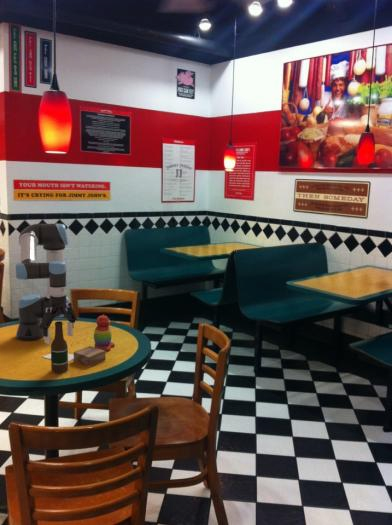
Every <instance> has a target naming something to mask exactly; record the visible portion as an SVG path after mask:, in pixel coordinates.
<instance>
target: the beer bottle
mask: <svg viewBox="0 0 392 525" xmlns="http://www.w3.org/2000/svg"><path fill="white" fill-rule="evenodd" d="M63 323H64V322H63V321H59V320H58V321H55V322H54V326H55V327H54V339H53V340H52V342H51V343H50V353H51V359H50V366H51V367H50V368H51V372H52V374H57V375H58V374H59V375H60V374H65V373H66V372H68V371H69V370H68V369H69V362H68V354H69V350H68V349H69V348H68V343H67V341H66V340H65V338H64V330H63V325H64V324H63Z"/></svg>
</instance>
